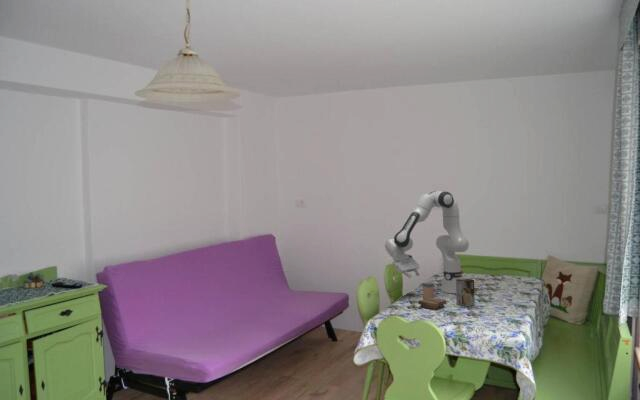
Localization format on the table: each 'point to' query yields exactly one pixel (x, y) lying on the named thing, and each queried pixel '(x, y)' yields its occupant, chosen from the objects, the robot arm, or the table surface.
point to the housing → (428, 290)
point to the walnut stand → (432, 303)
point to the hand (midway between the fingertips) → (414, 276)
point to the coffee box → (465, 292)
